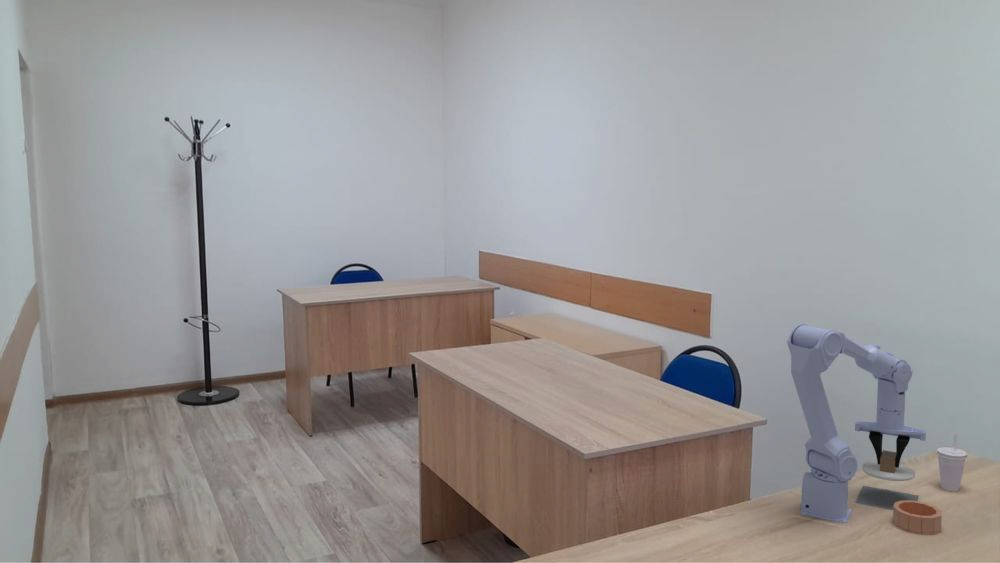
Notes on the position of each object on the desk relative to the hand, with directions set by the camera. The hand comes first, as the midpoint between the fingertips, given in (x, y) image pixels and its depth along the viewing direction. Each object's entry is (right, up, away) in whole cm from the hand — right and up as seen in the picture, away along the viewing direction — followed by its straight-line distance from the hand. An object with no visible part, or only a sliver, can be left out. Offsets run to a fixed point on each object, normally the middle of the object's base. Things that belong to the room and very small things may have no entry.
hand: (888, 464), depth 171 cm
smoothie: (+19, -8, +7) cm, 21 cm away
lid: (0, -2, 0) cm, 2 cm away
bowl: (-1, -10, -13) cm, 16 cm away
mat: (0, -9, +1) cm, 9 cm away
